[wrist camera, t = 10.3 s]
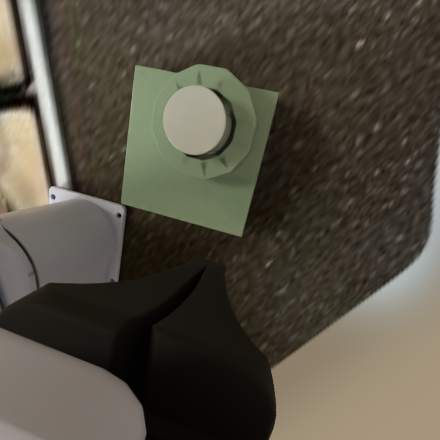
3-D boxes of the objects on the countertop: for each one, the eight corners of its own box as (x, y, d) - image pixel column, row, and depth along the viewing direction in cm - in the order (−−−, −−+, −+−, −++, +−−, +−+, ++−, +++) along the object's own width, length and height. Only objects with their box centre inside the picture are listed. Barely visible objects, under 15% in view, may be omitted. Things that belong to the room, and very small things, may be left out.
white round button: (224, 160, 16) (218, 161, 14) (172, 148, 16) (158, 147, 14) (237, 100, 15) (232, 91, 13) (181, 89, 15) (168, 78, 13)
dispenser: (245, 226, 21) (237, 246, 17) (139, 197, 23) (104, 208, 18) (279, 98, 18) (281, 78, 14) (155, 74, 20) (118, 48, 15)
